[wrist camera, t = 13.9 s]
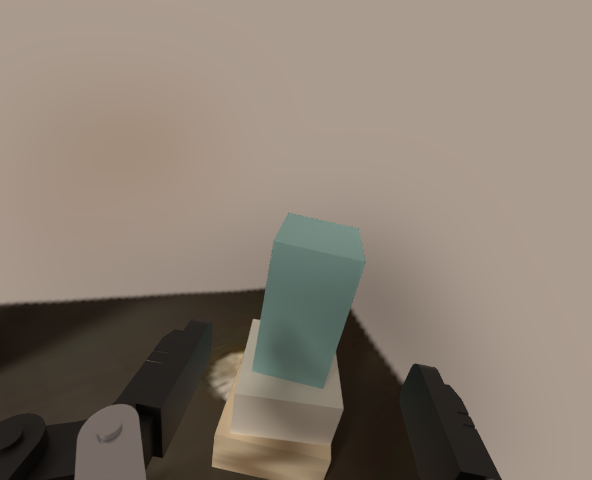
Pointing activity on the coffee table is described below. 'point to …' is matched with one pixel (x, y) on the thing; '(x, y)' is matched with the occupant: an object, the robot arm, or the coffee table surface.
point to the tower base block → (266, 452)
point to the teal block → (307, 298)
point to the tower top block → (285, 404)
